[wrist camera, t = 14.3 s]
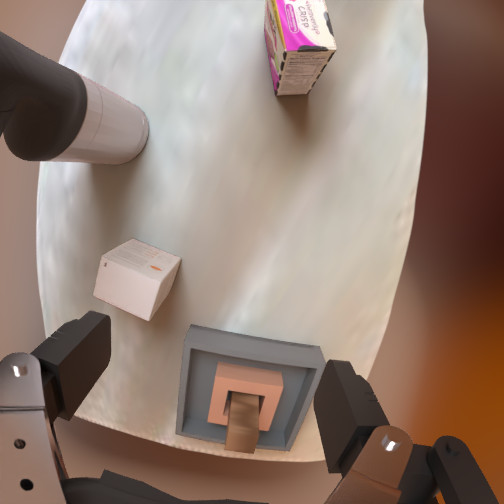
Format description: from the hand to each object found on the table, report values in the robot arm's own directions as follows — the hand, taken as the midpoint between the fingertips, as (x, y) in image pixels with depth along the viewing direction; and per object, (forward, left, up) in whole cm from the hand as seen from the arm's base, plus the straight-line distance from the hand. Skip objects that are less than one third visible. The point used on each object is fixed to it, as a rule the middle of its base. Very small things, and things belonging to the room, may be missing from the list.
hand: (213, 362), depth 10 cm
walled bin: (+5, -26, -32) cm, 42 cm away
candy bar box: (+1, +24, -32) cm, 40 cm away
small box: (-12, -8, -32) cm, 35 cm away
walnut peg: (+5, -26, -31) cm, 41 cm away
